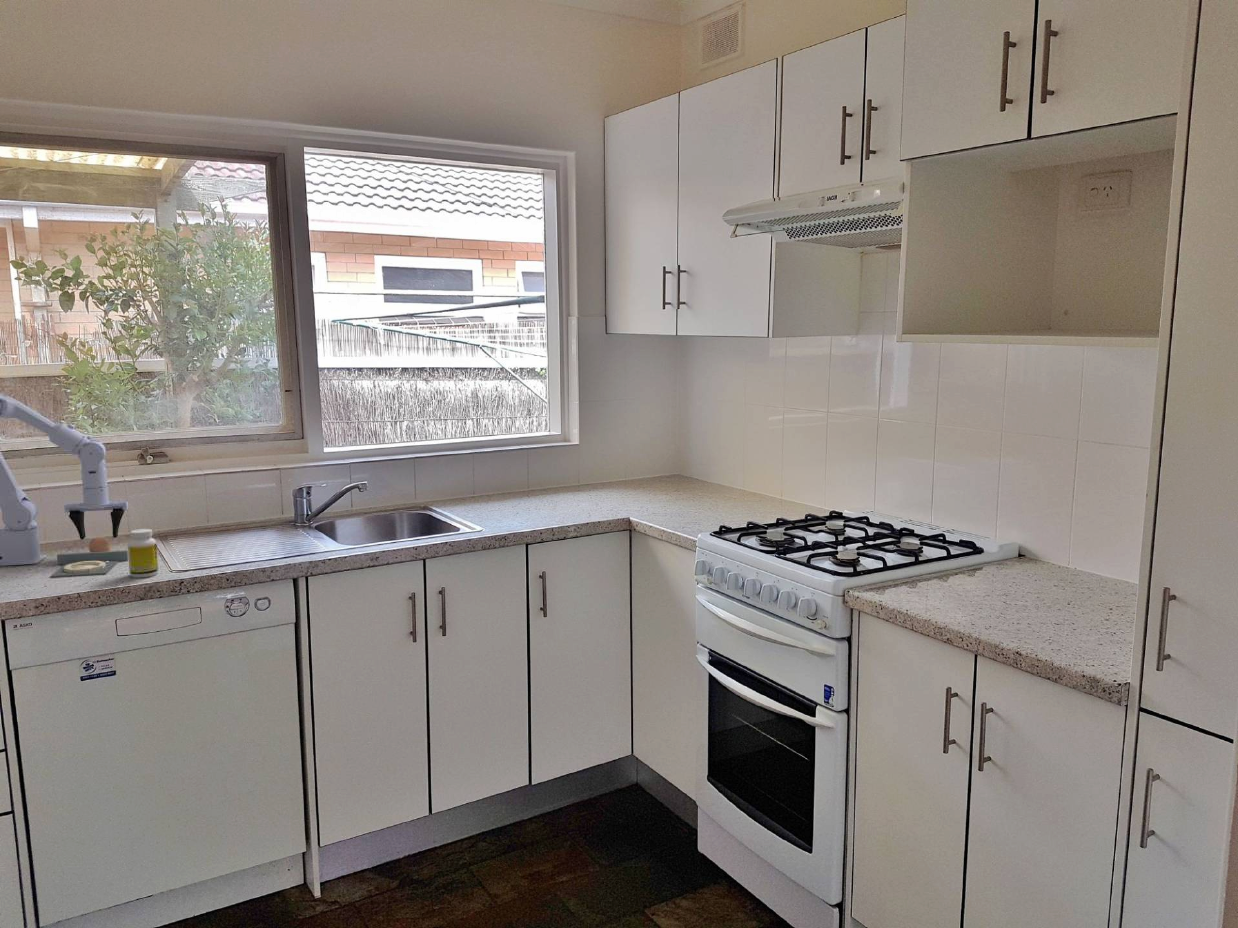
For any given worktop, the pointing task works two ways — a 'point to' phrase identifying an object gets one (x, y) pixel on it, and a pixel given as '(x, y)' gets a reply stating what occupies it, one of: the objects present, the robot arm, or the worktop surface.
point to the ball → (99, 545)
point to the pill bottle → (142, 554)
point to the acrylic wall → (92, 557)
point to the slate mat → (84, 568)
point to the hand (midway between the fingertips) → (99, 537)
